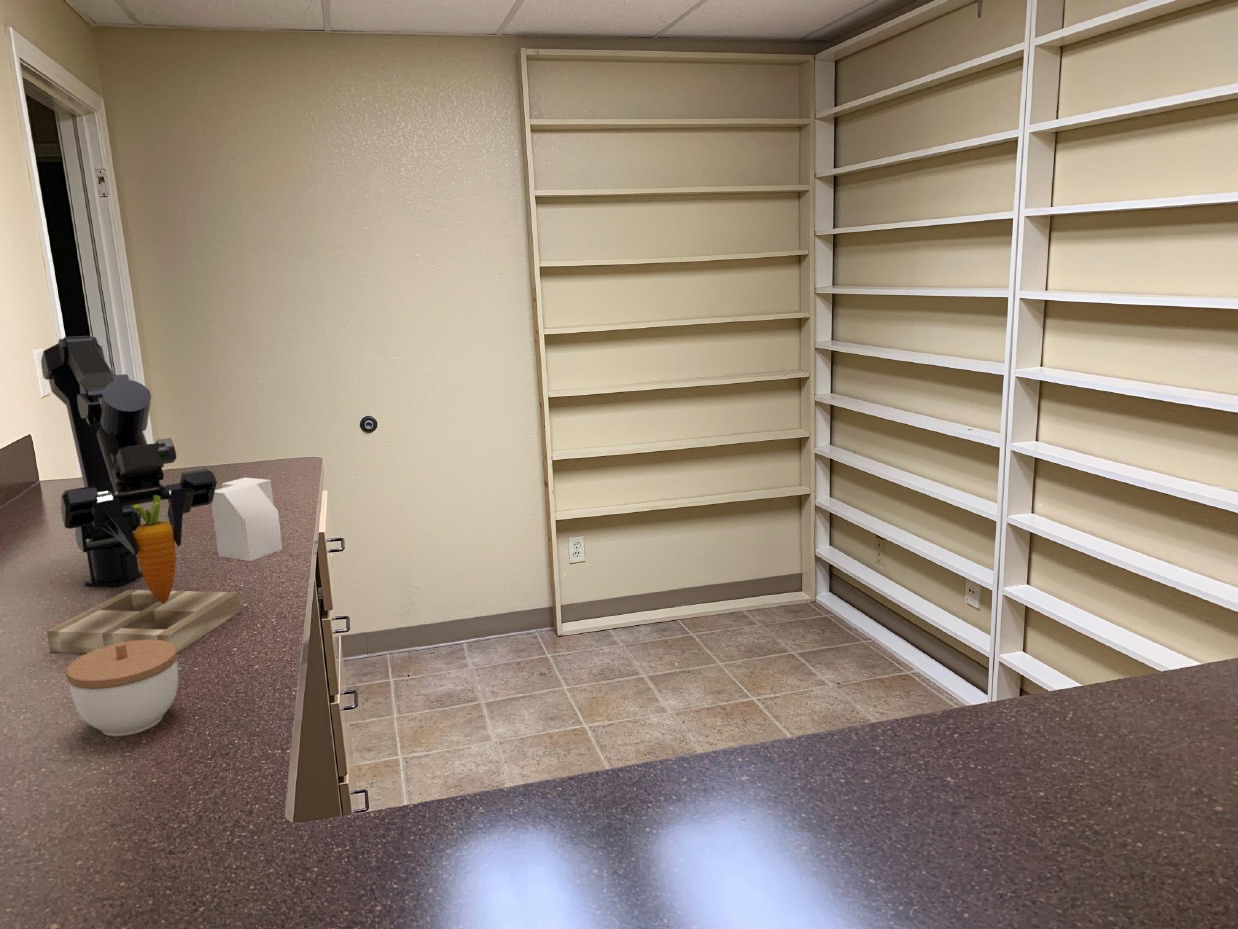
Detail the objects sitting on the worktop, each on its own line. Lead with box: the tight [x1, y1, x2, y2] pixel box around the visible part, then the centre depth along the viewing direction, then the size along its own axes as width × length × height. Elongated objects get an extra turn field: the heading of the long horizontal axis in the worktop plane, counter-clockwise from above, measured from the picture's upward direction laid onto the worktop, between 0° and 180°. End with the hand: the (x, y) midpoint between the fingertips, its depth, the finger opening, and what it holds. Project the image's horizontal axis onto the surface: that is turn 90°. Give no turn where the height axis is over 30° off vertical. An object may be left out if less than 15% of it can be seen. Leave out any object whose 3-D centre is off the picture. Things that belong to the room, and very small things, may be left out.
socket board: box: [46, 589, 241, 654], centre depth 126 cm, size 18×16×3 cm
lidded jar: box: [65, 640, 179, 737], centre depth 99 cm, size 11×11×9 cm
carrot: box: [132, 495, 177, 604], centre depth 121 cm, size 5×5×15 cm
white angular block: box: [210, 477, 283, 562], centre depth 163 cm, size 11×11×12 cm
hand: (158, 548), depth 120 cm, fingers closed on carrot, 5 cm apart
